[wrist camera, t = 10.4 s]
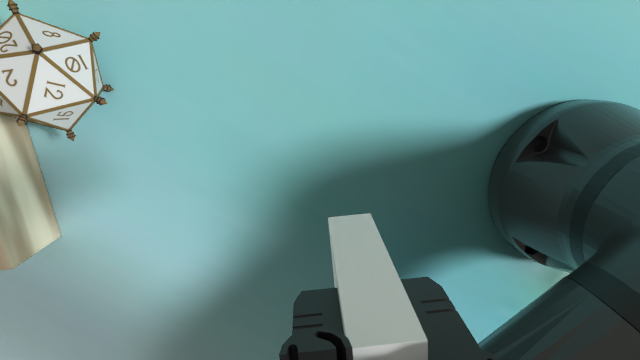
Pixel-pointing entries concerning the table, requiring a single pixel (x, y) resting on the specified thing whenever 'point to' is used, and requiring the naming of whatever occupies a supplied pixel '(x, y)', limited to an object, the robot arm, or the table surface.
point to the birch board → (22, 198)
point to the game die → (47, 73)
